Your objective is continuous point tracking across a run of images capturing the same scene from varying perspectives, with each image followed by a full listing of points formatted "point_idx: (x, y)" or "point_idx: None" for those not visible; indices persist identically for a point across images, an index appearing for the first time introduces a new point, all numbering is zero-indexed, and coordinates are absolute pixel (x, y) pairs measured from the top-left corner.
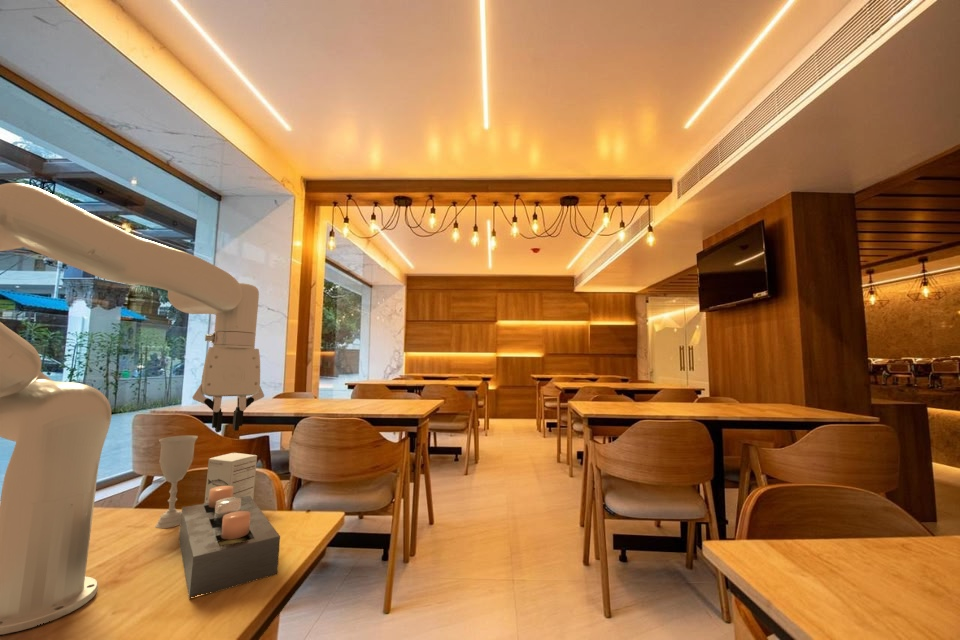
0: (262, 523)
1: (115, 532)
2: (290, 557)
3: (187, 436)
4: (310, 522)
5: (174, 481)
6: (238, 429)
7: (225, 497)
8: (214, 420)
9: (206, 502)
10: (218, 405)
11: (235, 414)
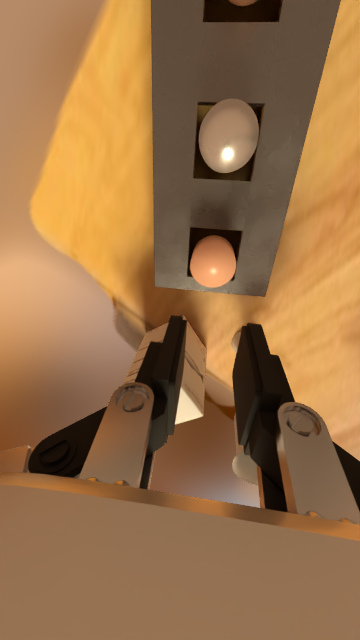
0: (167, 47)
1: (307, 354)
2: (129, 31)
3: (246, 478)
4: (74, 207)
5: None
6: (172, 316)
7: (209, 239)
8: (280, 374)
9: (204, 356)
10: (299, 445)
11: (176, 384)
